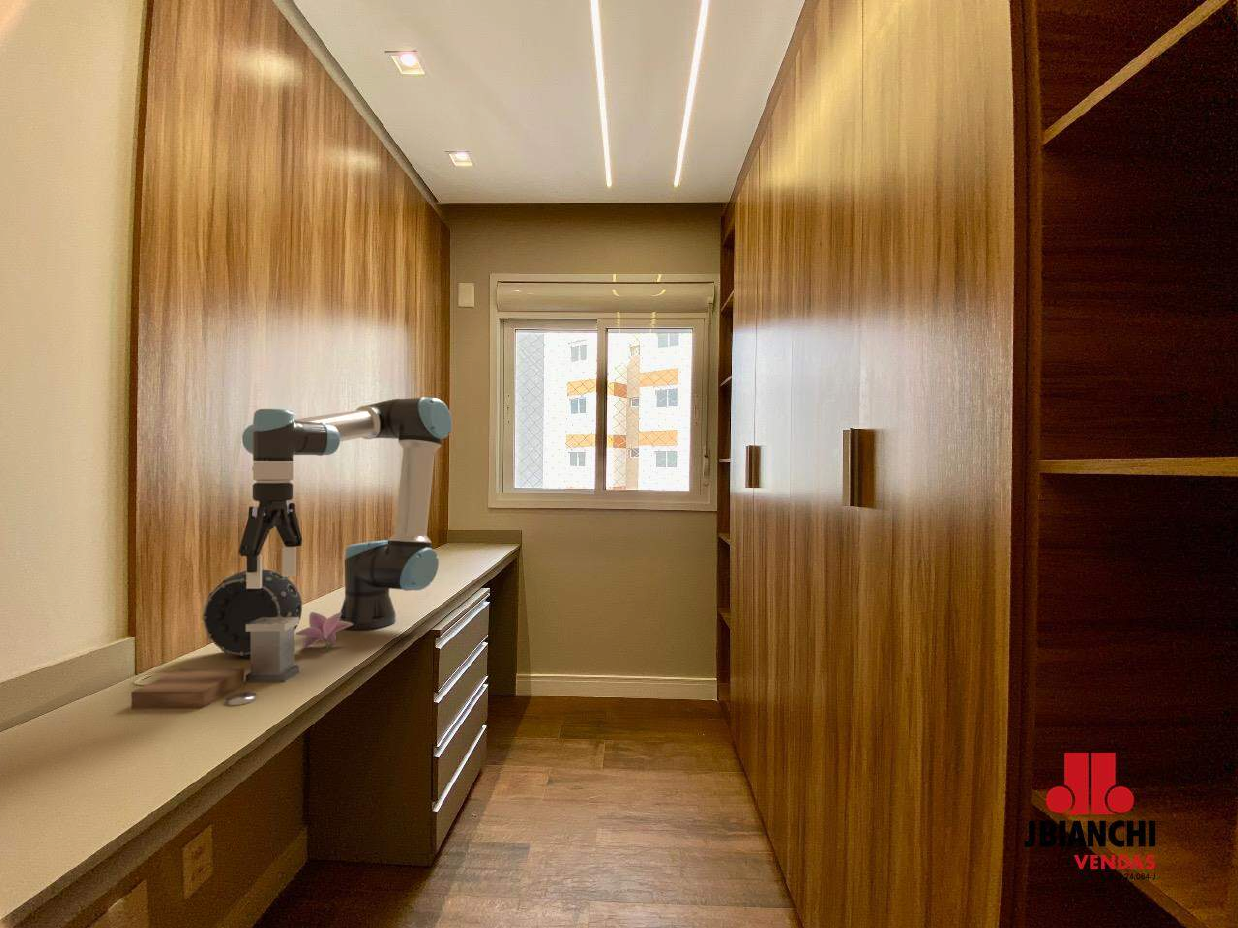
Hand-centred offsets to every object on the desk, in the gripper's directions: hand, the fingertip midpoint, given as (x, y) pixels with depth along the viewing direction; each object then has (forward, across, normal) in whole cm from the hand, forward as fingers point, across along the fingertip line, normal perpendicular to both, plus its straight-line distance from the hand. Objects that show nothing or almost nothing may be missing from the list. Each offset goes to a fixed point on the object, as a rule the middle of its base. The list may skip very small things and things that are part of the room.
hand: (272, 582), depth 130 cm
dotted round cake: (+20, -16, -13) cm, 29 cm away
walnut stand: (+20, +10, -10) cm, 25 cm away
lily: (+20, -20, +2) cm, 29 cm away
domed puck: (+21, +13, +1) cm, 24 cm away
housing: (+20, 0, 0) cm, 20 cm away
